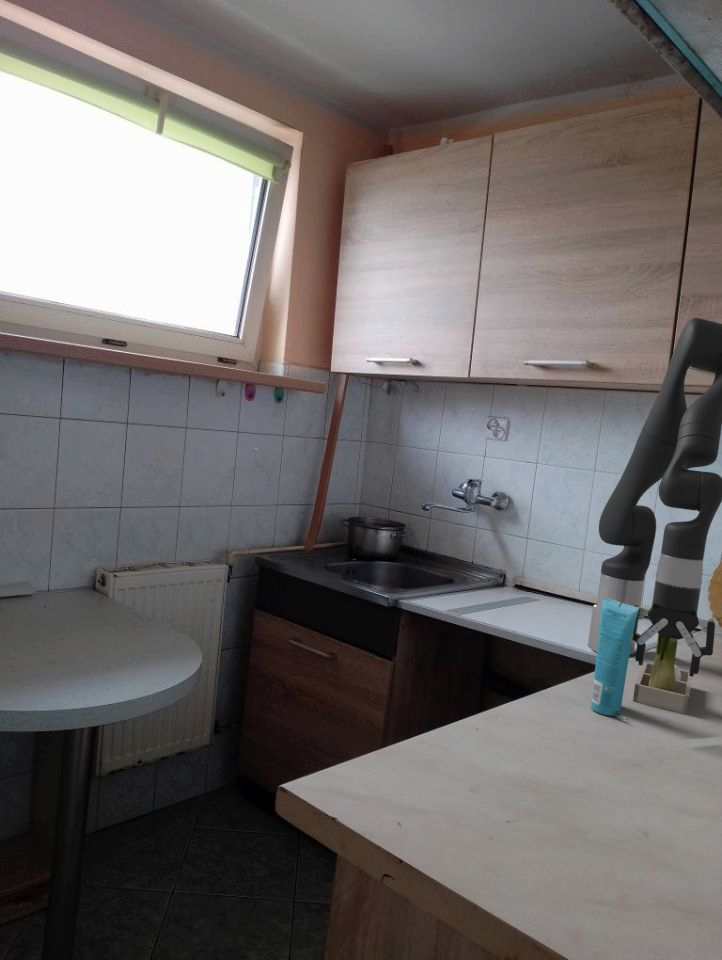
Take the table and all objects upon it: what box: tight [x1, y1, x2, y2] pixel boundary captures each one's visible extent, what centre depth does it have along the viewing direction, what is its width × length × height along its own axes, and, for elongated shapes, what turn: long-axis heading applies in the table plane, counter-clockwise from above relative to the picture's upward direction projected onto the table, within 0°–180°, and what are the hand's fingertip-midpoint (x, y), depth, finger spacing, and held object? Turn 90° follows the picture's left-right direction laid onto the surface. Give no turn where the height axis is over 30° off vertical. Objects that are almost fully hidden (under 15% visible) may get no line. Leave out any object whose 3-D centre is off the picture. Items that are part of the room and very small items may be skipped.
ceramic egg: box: [652, 663, 681, 681], centre depth 144 cm, size 5×5×5 cm
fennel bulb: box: [648, 633, 678, 693], centre depth 136 cm, size 6×5×12 cm
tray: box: [632, 661, 693, 715], centre depth 140 cm, size 17×9×4 cm, turn 154°
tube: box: [590, 597, 639, 717], centre depth 130 cm, size 7×5×19 cm, turn 39°
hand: (665, 669), depth 136 cm, fingers open, 8 cm apart
